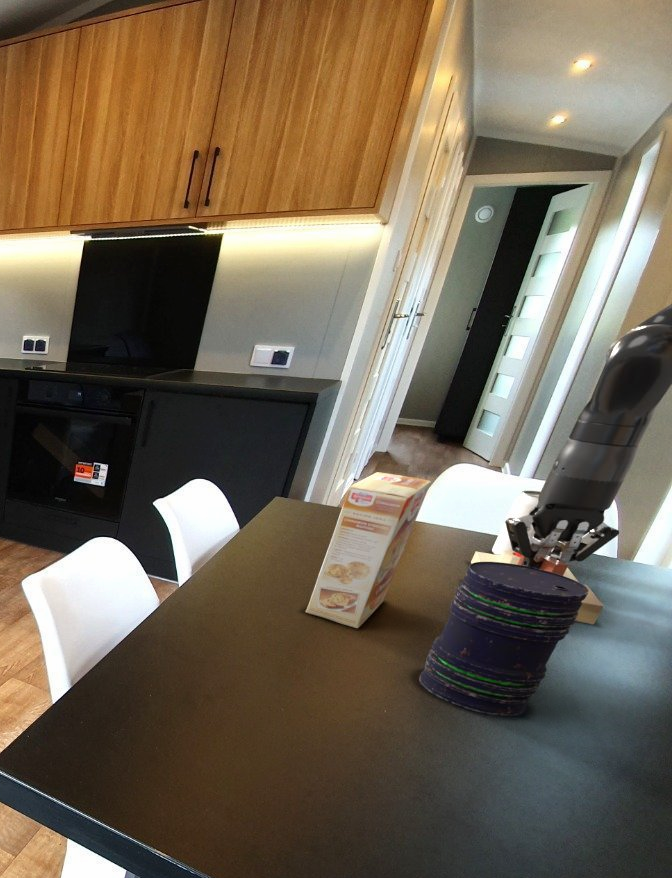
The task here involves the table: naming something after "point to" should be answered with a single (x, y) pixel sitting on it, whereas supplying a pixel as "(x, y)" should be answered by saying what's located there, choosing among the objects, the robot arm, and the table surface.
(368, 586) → the coffeecake box
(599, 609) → the holder base
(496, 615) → the dark blue barrel
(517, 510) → the can
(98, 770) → the table surface
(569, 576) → the button box
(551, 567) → the holder
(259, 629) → the table surface
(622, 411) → the robot arm
